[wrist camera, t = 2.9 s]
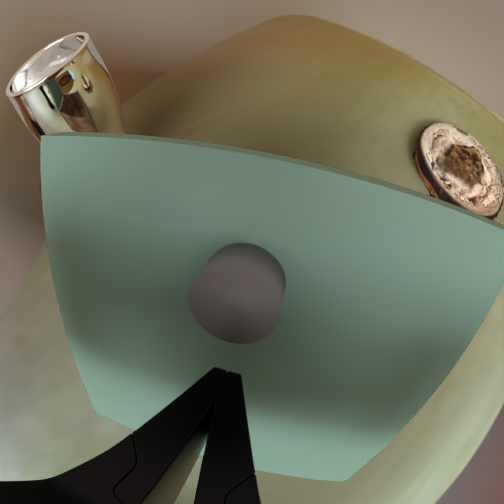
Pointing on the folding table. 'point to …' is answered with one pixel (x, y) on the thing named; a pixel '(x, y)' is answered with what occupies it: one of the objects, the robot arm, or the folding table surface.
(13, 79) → the beer glass
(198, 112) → the folding table surface
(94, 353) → the lid
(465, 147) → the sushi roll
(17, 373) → the folding table surface
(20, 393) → the folding table surface
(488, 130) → the folding table surface
